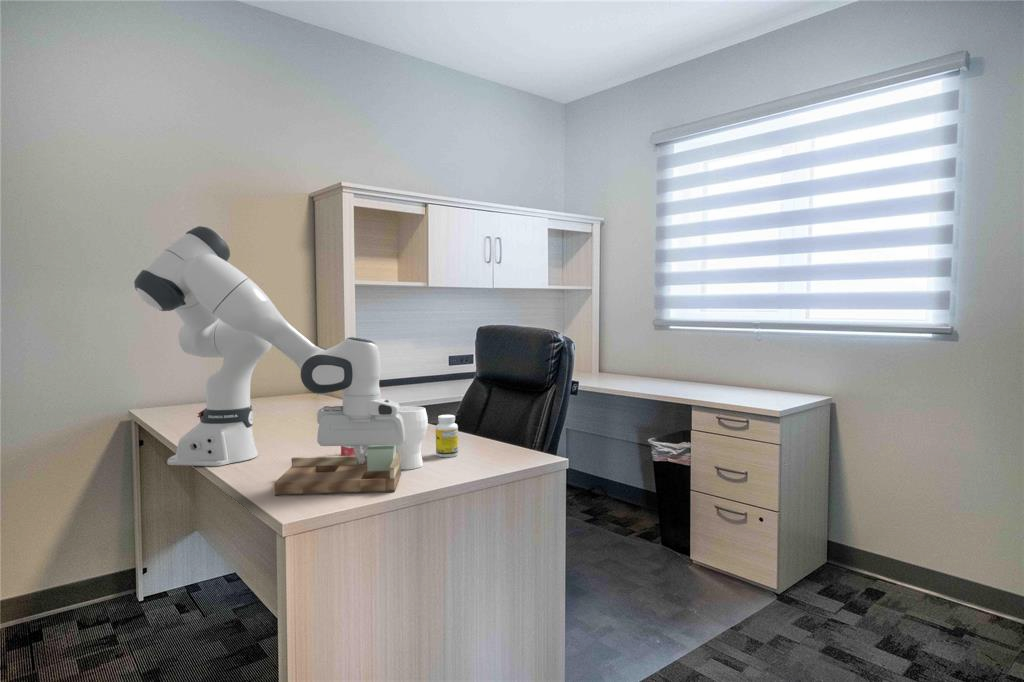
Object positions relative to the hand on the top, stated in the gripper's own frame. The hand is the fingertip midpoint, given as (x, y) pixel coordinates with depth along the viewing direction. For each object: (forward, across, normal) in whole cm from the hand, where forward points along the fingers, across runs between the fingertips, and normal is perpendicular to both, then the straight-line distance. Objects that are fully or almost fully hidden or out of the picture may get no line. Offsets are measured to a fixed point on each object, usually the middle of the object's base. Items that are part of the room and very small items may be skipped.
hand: (361, 463), depth 146 cm
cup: (+4, +10, +13) cm, 17 cm away
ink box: (+4, -6, +28) cm, 29 cm away
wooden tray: (+4, -4, -3) cm, 6 cm away
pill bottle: (+4, +20, +24) cm, 31 cm away
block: (+1, +5, 0) cm, 5 cm away
